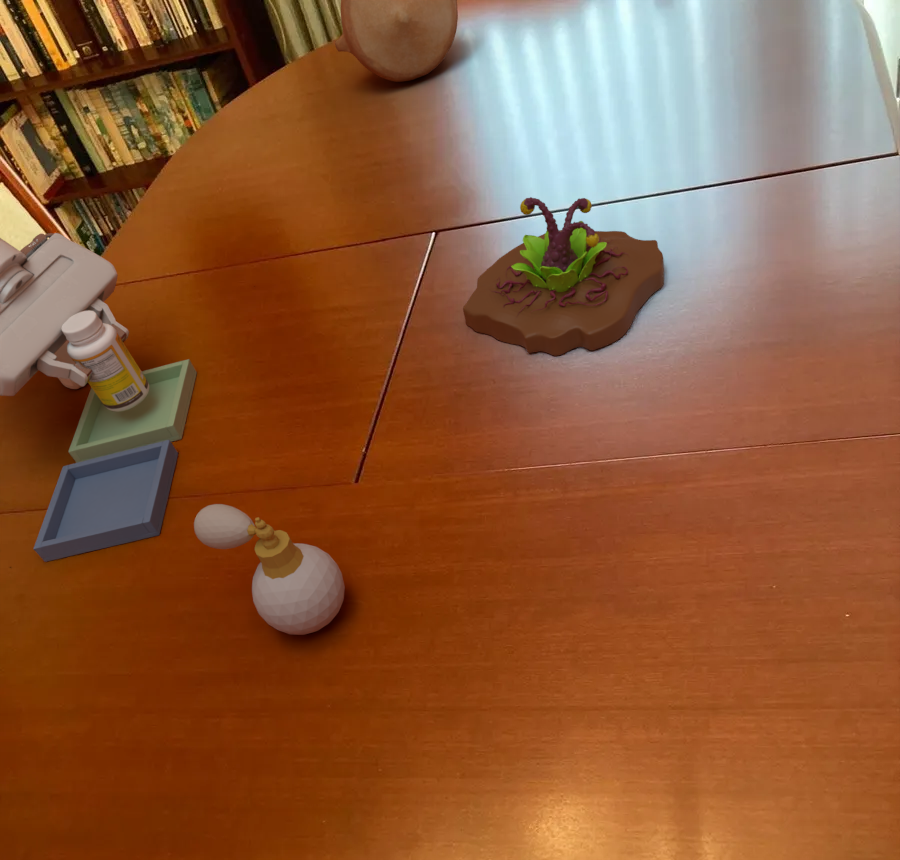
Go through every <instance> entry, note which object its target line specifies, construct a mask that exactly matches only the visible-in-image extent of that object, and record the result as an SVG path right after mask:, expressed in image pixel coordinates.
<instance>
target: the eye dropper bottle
mask: <svg viewBox="0 0 900 860" xmlns="http://www.w3.org/2000/svg"><path fill="white" fill-rule="evenodd" d="M68 342H69V341H68V340H67V341H66V342H65V343H64V344H63V345H62V346H61V347H60V348H59V349H58V350H57V351H56V352H55V354H54V355H56V357H57V358H56V361H59V362H64V363H68V364H73V365H75V363H74V361H73V360H72V358H71V357H70V355H69V354H68V352H67V345H68ZM57 380H59V381H60V383H61V384H62V385H63V386H64V387H65V388H67V389H71V390H79V389H81V388H83V387H82V386H80V385H78V384H77V383H75V382H74V381H72V380H71V379H69V378H68V379H65V378H58V377H57Z"/></svg>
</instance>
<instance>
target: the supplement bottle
mask: <svg viewBox="0 0 900 860" xmlns="http://www.w3.org/2000/svg"><path fill="white" fill-rule="evenodd" d="M61 329H62V332H63V333H64V335H65V336H66V339H67V340H68V345H67V352H68V354H69V355H70V357H71V358H72V360H73V361H74V363H75V364H76V363H77V362H78V361H80V362H81V363H83V364H84V365H85V366H87V367H89V368H91V369H92V371H93V375H92V378H91V379H90V380H89V382H88V383H87V384H88V385H89V386H90V388H91V387H92V389H93V390H94V392H95V393H96V395H97V396H98V397H99V399H100V400H101V402H102V403H103V405H104V406H105V407H106V408H107V409H109V410H111V411H115V412H119V411H125V410H128V409H130V408H133V407H134V406H136V405H138V404H139V403H140V402H142V401H143V400H144V398H145V397H146V396H147V394H148V392H149V383H148V381H147V380H146V378H145V376H144V375H143V373H142V370H141V368H140V367H139V365H138V363H137V362H136V360H135V359H134V357H133V356H132V354H131V353H130V351H129V349H128V347H127V346H126V344H125V342H124V343H123V341H122V340H121V338H120V337H119V335H118V333H117V332H116V330H115V329H114V327H112V326H111V325H109V324H106V323H102V321H101V320H100V319H99V317H98V316H97V314H96V313H95V312H94V311H90V310H88V311H82V312H79V313H77V314H75V315H73V316H71V317H70V318H69V319H68V320H67V321H66V322H65V323H64V324H63V325H62V328H61Z"/></svg>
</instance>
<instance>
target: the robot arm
mask: <svg viewBox="0 0 900 860" xmlns="http://www.w3.org/2000/svg"><path fill="white" fill-rule="evenodd" d="M118 276H119V275H118V272H117V269H116V267H115V266H114V264H113V263H111V262H110V261H109V260H107V259H106V258H104V257H102V256H101V255H99V254H97V253H95V252H94V251H92V250H90V249H88V248H86V247H85V246H83V245H81V244H79V243H77V242H75V241H72V240H70V239H69V238H67V237H66V236H64V235H63V234H61V233H59V232H55V233H54V232H53V233H52V232H49V233H39V234H36V236H35V237H33V238H32V241H31V242H29V243H28V244H27V245H24V247H22V248H21V249H20V250H19V249H18V248H16V247H14V246H13V245H12V244H11V243H9V242H8V241H6V240H4V239H2V237H0V396H1V397H2V396H3V397H14V396H15V395H17V393H19V391H20V390H21V389H22V388H23V387H24V386H25V385H26V384H27V383H28V382H29V381H30V380H31V379H32V378H33V377H34V375H35V374H37V373H38V371H40V372H41V373H42V374H43V375H46V376H47V377H50V378H51V377H53V378H57V379H58V378H65V379H68V378H69V379H71V380H72V381H74V382H75V383H77V384H78V385H80V386H82V387H81V388H83V387H85V386H86V385H87V384H89V383H88V382H89V380H90V379H91V378H92V375H93V371H92V369H91V368H89V367H87V366H85V365H84V364H83V363H81V362H80V361H78V362H77V363H76V364H75V365H73V364H68V363H64V362H59V361H56V358H57V357H56V355H54V354H55V352H56V351H57V350H58V349H59V348H60V347H61V346H62V345H63V344H64V343H65V342H66V341H67V339H66V336H65V335H64V333H63V332H62V329H61V328H62V325H63V324H64V323H65V322H66V321H67V320H68V319H69V318H70V317H71V316H73V315H75V314H77V313H79V312H82V311H88V310H90V311H94V312H95V313H96V314H97V316H98V317H99V319H100V320H101V321H102V323H106V324H109V325H111V326H112V327H114V329H115V330H116V332H117V333H118V335H119V337H120V338H121V340H122V341H123V343H124V344H125V342H126V341H127V340H128V338H129V334H130V331H129V329H128V328H127V327H125V326H123V325H122V324H121V323H120V322H118V321H116V320H117V319H116V317H115V316H114V314H113V312H112V311H111V309H110V307H109V305H108V304H107V303H105V302H106V300H107V299H108V298H109V297H111V295H112V294H113V293H114V291H115V289H116V285H117V281H118Z"/></svg>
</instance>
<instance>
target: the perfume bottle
mask: <svg viewBox="0 0 900 860" xmlns="http://www.w3.org/2000/svg"><path fill="white" fill-rule="evenodd" d="M254 521H255V522H254ZM254 521H253V520H252V518H251V517H250V516H249V515H248V514H247V513H245V512H244V511H242V510H240V509H238V508H236V507H235V506H232V505H228V504H224V503H213V504H209V505H206V506H205V507H203V508H201V509H200V510H199V512H198V513H197V514H196V517H195V518H194V522H193V529H194V534H195V536H196V537H197V539H198V541H200V542H201V543H202V544H203V545H205V546H207V547H209V548H212V549H215V550H216V549H217V550H228V549H235V548H237V547H241V546H243V545H244V544H247V543H248V542H250V540H251V539H253V538H254V536H255V535H256V537H257V538H259V539H258V540H256V542H255V545H254V548H253V549H254V552H255V555H256V556H257V558H258V560H259V561H260V562H259V563H258V564H257V567H256V569H255V571H254V574H253V576H252V583H251V595H252V596H251V597H252V603H253V604H254V606H255V608H256V611H257V613H258V615H259V616H260V617H261V618H262V619H263V621H264V622H266V624H267V625H268V626H271V627H272V628H274V629H275V630H277V631H278V632H282V633H285V634H287V635H296V636H297V635H298V636H305V635H307V634H308V635H309V634H311V633H312V634H313V633H316V632H319V631H320V630H322V629H323V628H324V627H326V626H328V625H329V624H330V623H331V622H332V621H333V620H334V618H336V616H337V615H338V613H339V612H340V609H341V608H342V605H343V603H344V599H345V591H346V590H345V589H346V587H345V581H344V578H343V577H344V576H343V573H342V571H341V569H340V567H339V565H338V563H337V562H336V561H335V560H334V559H333V557H332V556H331V555H330V554H329V553H328V552H326V551H324V550H323V549H321V548H319V547H318V546H316V545H311V544H308V543H300V542H299V543H298V542H297V543H295V542H293V541H292V539H291V537H290V535H289V534H288V532H286V531H284V530H281V529H276V530H274V527H273V526H271V525H270V524H267V523H266V521H265V520H264V519H261V518H260V517H259V516H258V517H255V519H254Z"/></svg>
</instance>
